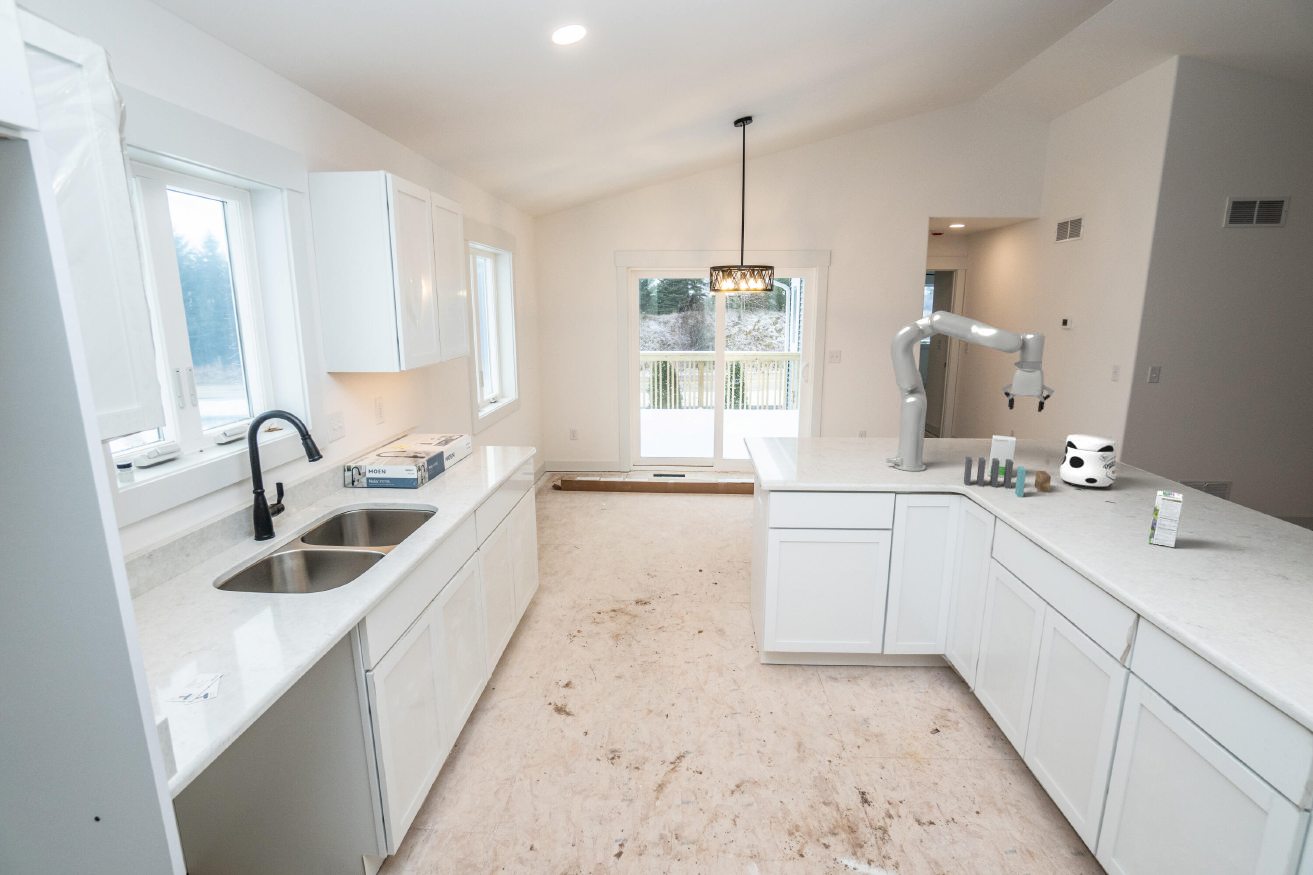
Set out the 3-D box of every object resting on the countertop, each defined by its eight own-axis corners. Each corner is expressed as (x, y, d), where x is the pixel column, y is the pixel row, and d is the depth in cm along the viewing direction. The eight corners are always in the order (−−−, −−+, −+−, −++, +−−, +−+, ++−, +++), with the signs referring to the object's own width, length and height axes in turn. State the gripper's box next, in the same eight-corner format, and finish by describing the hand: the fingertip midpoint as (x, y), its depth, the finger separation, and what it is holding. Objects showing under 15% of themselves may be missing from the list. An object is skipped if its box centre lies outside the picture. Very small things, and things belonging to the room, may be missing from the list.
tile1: (965, 485, 231) (967, 459, 229) (963, 481, 236) (966, 456, 234) (969, 485, 231) (972, 459, 229) (968, 482, 235) (970, 456, 233)
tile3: (992, 487, 228) (994, 461, 226) (990, 483, 233) (992, 458, 231) (996, 487, 228) (999, 461, 226) (994, 484, 232) (997, 458, 230)
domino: (1017, 496, 216) (1020, 469, 214) (1015, 492, 221) (1018, 466, 219) (1022, 497, 216) (1026, 469, 214) (1020, 493, 220) (1023, 466, 218)
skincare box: (988, 475, 244) (991, 437, 241) (988, 472, 250) (991, 434, 246) (1012, 478, 240) (1016, 439, 237) (1011, 474, 246) (1015, 436, 243)
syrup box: (1148, 538, 176) (1156, 489, 173) (1175, 542, 173) (1183, 493, 170) (1148, 544, 172) (1156, 494, 169) (1175, 548, 168) (1184, 498, 165)
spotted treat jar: (1124, 492, 220) (1131, 443, 216) (1070, 490, 223) (1076, 442, 220) (1100, 479, 237) (1106, 434, 233) (1050, 477, 240) (1056, 433, 236)
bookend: (1039, 491, 222) (1041, 475, 221) (1034, 485, 229) (1036, 470, 228) (1049, 492, 221) (1050, 476, 220) (1043, 486, 228) (1045, 471, 227)
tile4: (1005, 488, 227) (1008, 462, 225) (1003, 484, 231) (1005, 459, 229) (1010, 488, 226) (1013, 462, 224) (1008, 485, 231) (1010, 459, 229)
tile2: (978, 486, 230) (980, 460, 228) (976, 482, 235) (978, 457, 233) (983, 486, 229) (985, 460, 227) (981, 483, 234) (983, 457, 232)
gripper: (1002, 365, 236) (997, 409, 239) (1054, 367, 224) (1049, 413, 228) (1007, 364, 241) (1003, 407, 245) (1058, 366, 230) (1053, 411, 233)
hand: (1025, 410), depth 236 cm, fingers open, 9 cm apart
